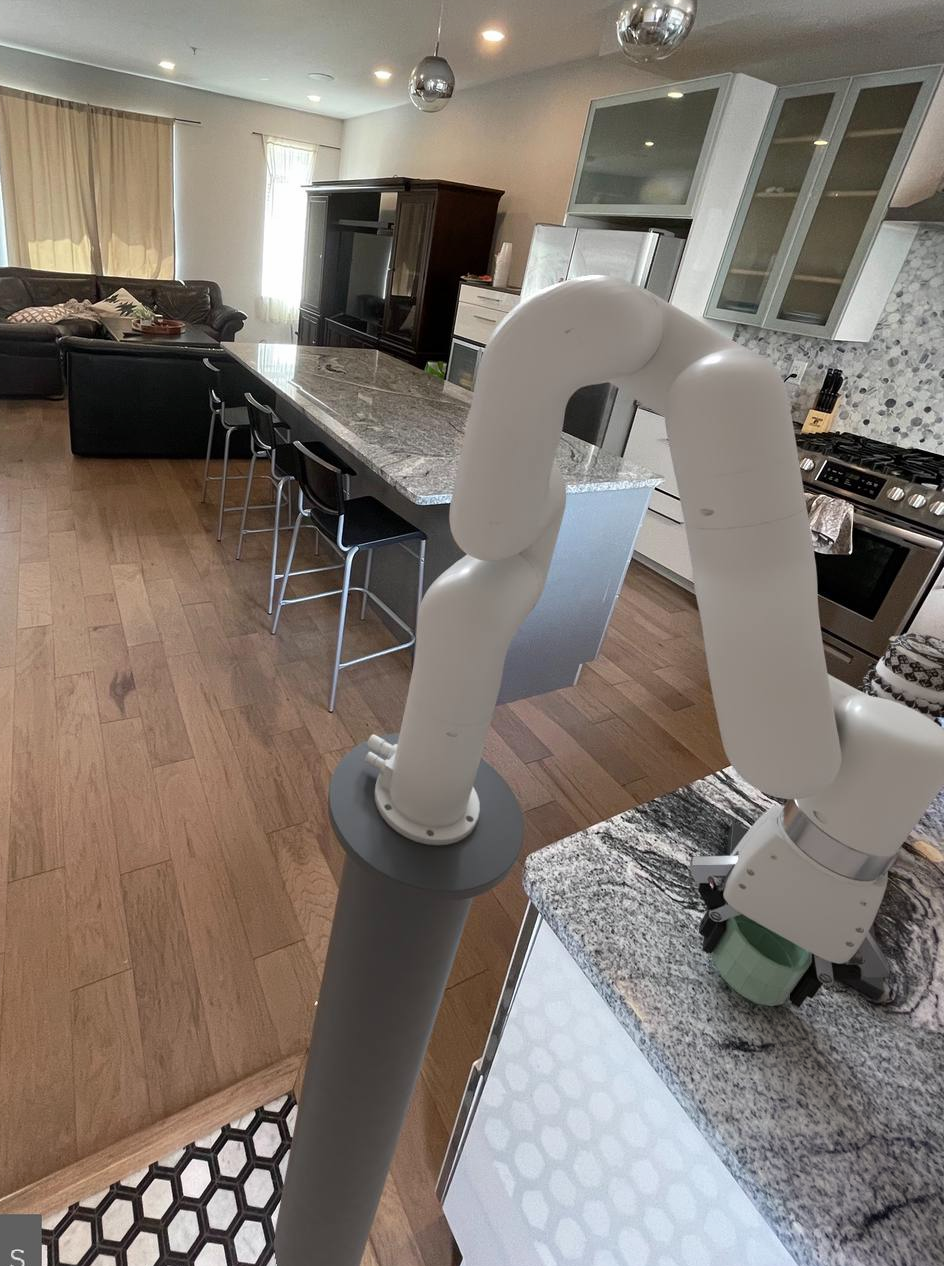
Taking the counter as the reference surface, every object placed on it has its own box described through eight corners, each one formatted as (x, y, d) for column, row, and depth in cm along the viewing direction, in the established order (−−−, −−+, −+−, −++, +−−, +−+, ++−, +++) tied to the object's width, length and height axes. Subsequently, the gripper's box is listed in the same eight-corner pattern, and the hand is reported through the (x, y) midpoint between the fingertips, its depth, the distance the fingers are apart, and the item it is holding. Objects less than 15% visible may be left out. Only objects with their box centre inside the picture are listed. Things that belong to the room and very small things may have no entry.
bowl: (705, 976, 59) (728, 938, 57) (711, 921, 65) (732, 885, 62) (786, 1026, 56) (813, 988, 54) (785, 963, 62) (810, 927, 59)
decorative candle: (866, 830, 81) (964, 672, 72) (795, 779, 89) (876, 628, 79) (900, 811, 86) (997, 659, 76) (829, 763, 93) (910, 619, 83)
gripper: (951, 861, 52) (851, 992, 59) (726, 757, 60) (660, 884, 67) (974, 931, 46) (859, 1068, 53) (720, 805, 54) (649, 940, 61)
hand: (749, 964), depth 60 cm, fingers closed on bowl, 6 cm apart
